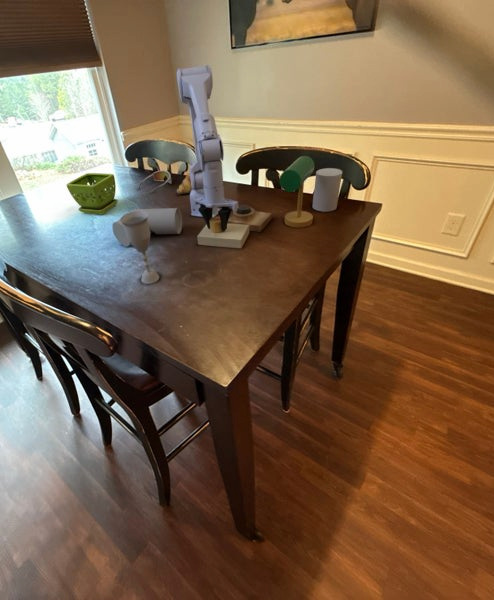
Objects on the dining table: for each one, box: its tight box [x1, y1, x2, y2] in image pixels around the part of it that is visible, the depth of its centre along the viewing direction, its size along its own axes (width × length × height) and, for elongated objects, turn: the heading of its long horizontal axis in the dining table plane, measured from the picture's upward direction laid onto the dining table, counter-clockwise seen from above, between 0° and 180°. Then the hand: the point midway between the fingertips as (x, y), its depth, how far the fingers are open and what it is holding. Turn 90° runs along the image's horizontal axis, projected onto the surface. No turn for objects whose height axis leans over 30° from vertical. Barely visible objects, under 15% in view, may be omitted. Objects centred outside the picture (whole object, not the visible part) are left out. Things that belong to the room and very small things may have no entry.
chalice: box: [119, 211, 160, 285], centre depth 81 cm, size 7×7×18 cm
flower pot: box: [65, 172, 119, 215], centre depth 127 cm, size 14×14×13 cm
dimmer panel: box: [196, 223, 250, 249], centre depth 99 cm, size 14×10×3 cm
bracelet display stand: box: [278, 155, 315, 228], centre depth 98 cm, size 9×14×19 cm, turn 150°
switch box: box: [227, 207, 272, 232], centre depth 105 cm, size 12×10×4 cm
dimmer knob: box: [210, 216, 223, 233], centre depth 97 cm, size 4×4×4 cm
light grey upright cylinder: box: [311, 167, 343, 213], centre depth 107 cm, size 8×8×12 cm
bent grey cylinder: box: [111, 207, 183, 247], centre depth 104 cm, size 18×10×20 cm
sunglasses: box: [137, 170, 173, 193], centre depth 146 cm, size 14×15×5 cm
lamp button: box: [237, 204, 251, 215], centre depth 105 cm, size 4×4×2 cm
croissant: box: [176, 173, 192, 195], centre depth 138 cm, size 21×10×8 cm, turn 140°
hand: (217, 228), depth 98 cm, fingers closed on dimmer knob, 4 cm apart
